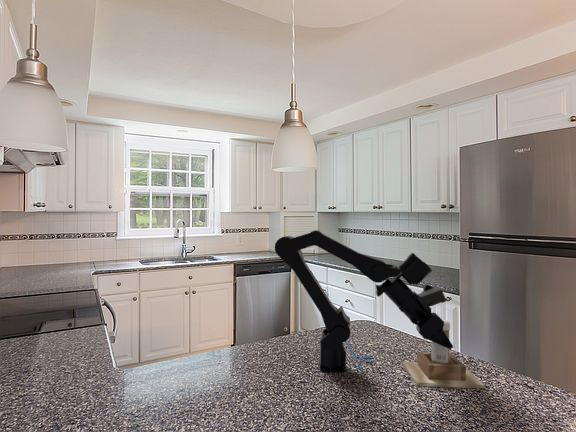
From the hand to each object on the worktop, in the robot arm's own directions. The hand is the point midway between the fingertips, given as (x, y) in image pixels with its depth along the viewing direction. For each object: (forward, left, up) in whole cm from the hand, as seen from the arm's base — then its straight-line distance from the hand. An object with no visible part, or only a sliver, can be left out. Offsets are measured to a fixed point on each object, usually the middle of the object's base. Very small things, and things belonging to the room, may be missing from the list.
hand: (446, 341), depth 94 cm
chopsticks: (-20, +11, -9) cm, 25 cm away
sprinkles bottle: (-2, 0, -8) cm, 8 cm away
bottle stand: (-1, 0, -9) cm, 9 cm away
